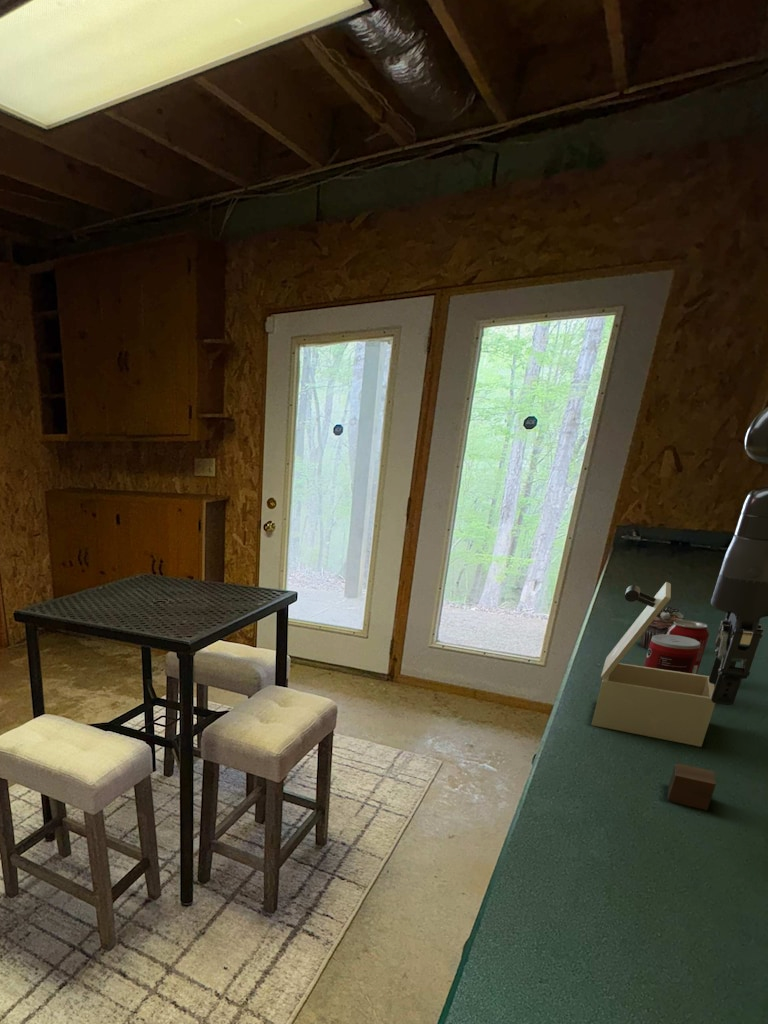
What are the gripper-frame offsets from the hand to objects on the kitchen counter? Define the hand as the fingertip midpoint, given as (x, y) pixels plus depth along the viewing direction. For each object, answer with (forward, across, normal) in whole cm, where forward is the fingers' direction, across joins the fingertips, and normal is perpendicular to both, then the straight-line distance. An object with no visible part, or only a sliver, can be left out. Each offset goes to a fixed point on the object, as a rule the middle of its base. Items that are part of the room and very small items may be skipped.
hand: (719, 693), depth 84 cm
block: (+17, 0, 0) cm, 17 cm away
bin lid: (0, +27, +10) cm, 29 cm away
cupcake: (+17, +81, +4) cm, 82 cm away
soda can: (+17, +59, +1) cm, 61 cm away
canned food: (+17, +48, +3) cm, 51 cm away
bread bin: (+17, +28, +5) cm, 33 cm away
